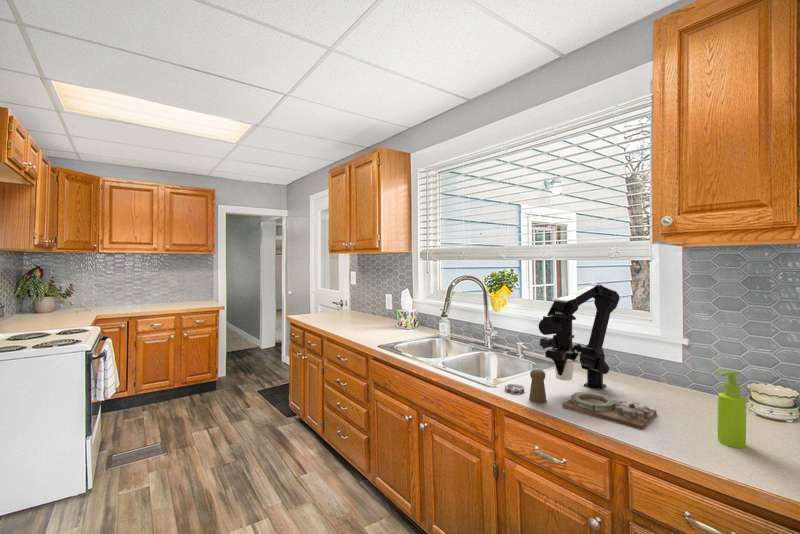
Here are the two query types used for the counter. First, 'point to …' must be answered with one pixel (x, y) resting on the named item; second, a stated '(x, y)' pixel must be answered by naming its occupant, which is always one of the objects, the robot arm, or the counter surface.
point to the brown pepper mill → (537, 387)
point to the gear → (514, 388)
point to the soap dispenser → (731, 413)
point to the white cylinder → (566, 371)
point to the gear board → (611, 409)
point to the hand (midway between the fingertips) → (563, 373)
